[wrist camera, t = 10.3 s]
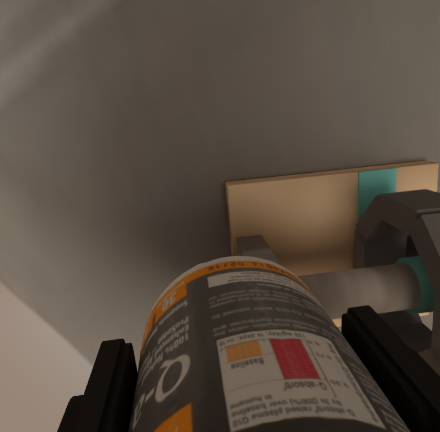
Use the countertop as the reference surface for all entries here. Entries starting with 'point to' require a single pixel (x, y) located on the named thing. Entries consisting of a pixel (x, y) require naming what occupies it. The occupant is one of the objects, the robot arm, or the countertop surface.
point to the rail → (331, 234)
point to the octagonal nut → (396, 248)
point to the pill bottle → (251, 358)
